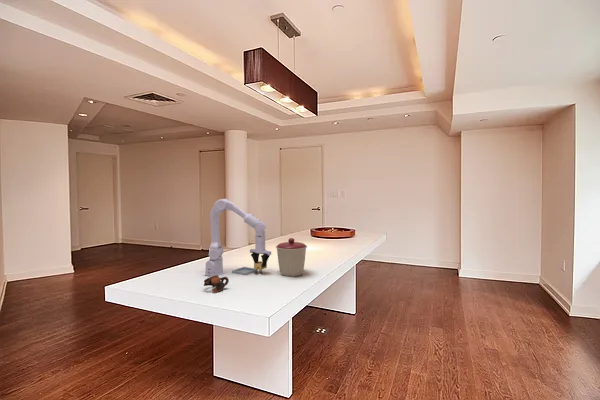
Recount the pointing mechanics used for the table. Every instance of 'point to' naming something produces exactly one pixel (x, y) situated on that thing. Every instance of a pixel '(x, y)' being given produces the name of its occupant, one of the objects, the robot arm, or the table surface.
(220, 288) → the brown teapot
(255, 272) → the steel stake
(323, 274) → the table surface
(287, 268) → the canister
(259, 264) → the brass ring
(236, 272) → the slate tray
